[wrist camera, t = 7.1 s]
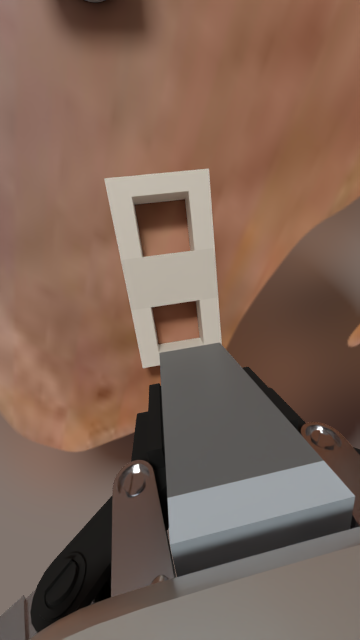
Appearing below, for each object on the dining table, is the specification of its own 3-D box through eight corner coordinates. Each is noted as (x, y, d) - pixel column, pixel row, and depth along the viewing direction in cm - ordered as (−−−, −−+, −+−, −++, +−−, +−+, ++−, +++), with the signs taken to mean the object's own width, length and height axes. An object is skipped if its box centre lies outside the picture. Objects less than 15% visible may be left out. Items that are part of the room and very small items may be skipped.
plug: (219, 342, 13) (354, 495, 4) (223, 394, 14) (337, 601, 5) (159, 352, 12) (169, 544, 4) (168, 404, 13) (192, 646, 5)
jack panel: (202, 179, 21) (208, 168, 19) (216, 346, 27) (222, 354, 24) (110, 188, 20) (104, 178, 18) (144, 358, 26) (142, 368, 24)
